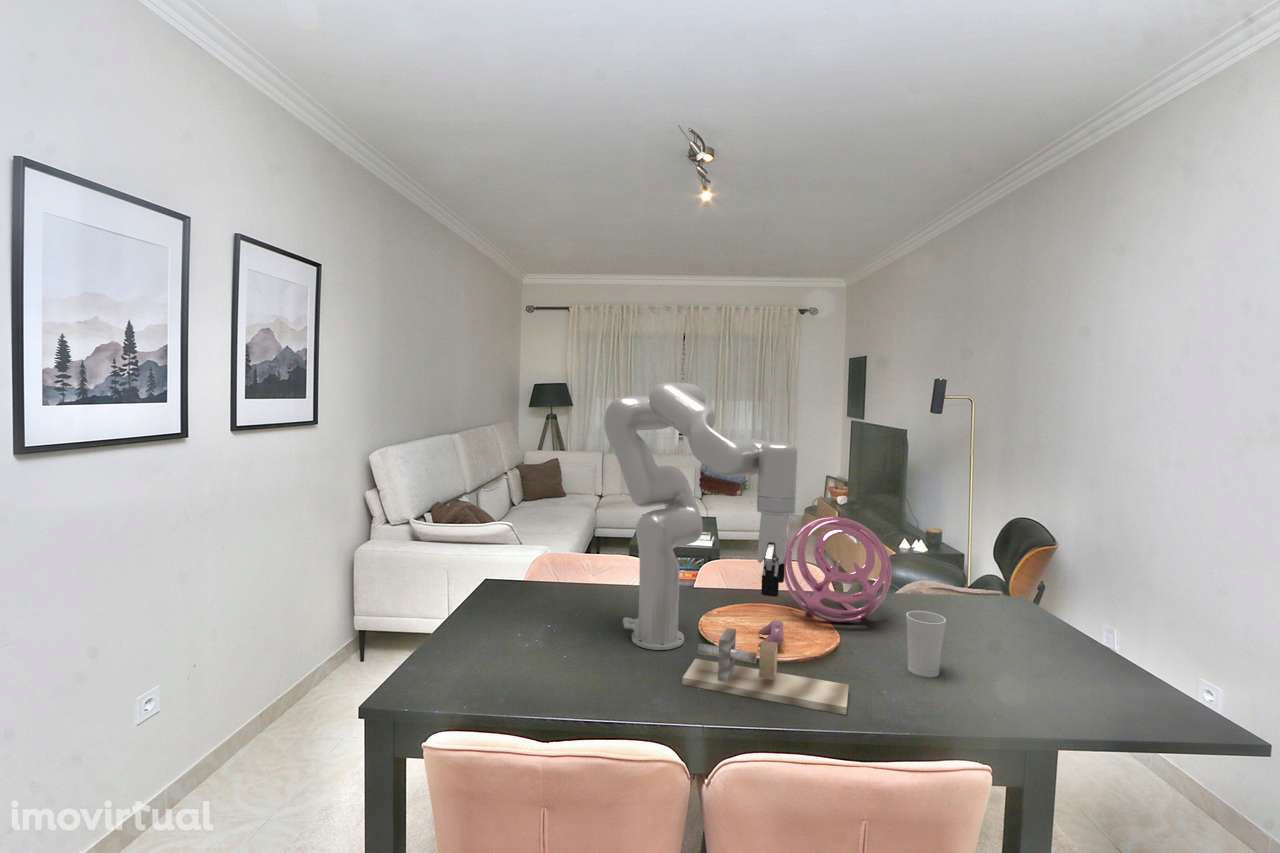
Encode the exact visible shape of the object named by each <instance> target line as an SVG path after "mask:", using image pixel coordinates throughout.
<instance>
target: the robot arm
mask: <svg viewBox="0 0 1280 853" xmlns="http://www.w3.org/2000/svg"><path fill="white" fill-rule="evenodd" d="M706 400H707V399H706V396H705V393H704V392H703V390H702V389H701V388H700V387H699V386H698V385H696V384H694V383H690V382H673V381H672V382H663V383H659V384H657V385H656V386H654V387H653V388H652V389H651V391H650V392H649V395H627V396H621V397H617V398H616V399H613V400H612V401H611V402H610V403H609V405H608V406H607V407H606V410H605V415H604V419H603V420H604V421H603V422H604V423H603V425H604V431H605V436H606V438H607V440H608V441H607V442H608V443H609V445H610V447H611V448H612V450H613V452H614V455H615V456H616V459H617V462H618V465H619V468H620V471H621V475H622V477H623V479H624V483H625V485H626V486H625V487H626V488H627V491H628V494H629V497H630V499H631V501H632V502H633V504H634V505H636V506H638V507H640V508H646V507H656V506H662V505H663V506H664V508H659V509H654V510H653V509H652V510H650V511H647V512H646V513H644V514H643V515H642V516H640V518H639V519H638V521H637V523H636V528H635V532H636V533H635V534H636V540H637V547H638V554H639V555H638V556H639V574H638V576H639V585H638V586H639V588H638V592H639V593H638V617H636V618H632V617H626V616H625V617H623V619H622V625H623V628H624V629H627V630H632V632H631V641H632V643H633V644H635V645H636V646H638V647H641V648H643V649H647V650H654V651H665V650H666V651H667V650H668V651H669V650H673V649H677V648H678V647H680V646H682V645H683V644H684V643H685V635H684V634H683V632H681V631H680V630H679V600H680V566H679V560H678V559H677V556H676V555H675V553H674V548H677V547H683V546H687V545H690V544H693V543H696V542H697V541H698V540H699V539H700V538H701V537H702V534H703V529H704V524H703V519H702V518H703V517H702V514H701V512H700V509H699V505H698V504H697V502H696V498H695V496H694V493H693V491H692V487H691V485H690V483H689V481H688V478H687V477H686V475H685V474H684V472H683V471H682V470H680V469H679V468H677V467H676V466H672V465H661V466H659V465H657V463H656V461H655V459H654V456H653V454H652V451H651V448H650V447H649V445H648V444H647V442H646V441H645V440H644V439H643V438H642V437H641V436H640V435H639V434H638V433H637V431H656V430H662V429H663V430H665V429H668V428H670V427H672V428H673V429H675V430H676V431H677V432H679V433H680V434H681V435H683V436H684V437H686V439H687V441H688V442H687V444H688V446H689V448H690V451H691V453H692V454H693V455H694V457H695V458H696V459H697V460H698V461H699V462H700V463H702V464H703V465H704V466H705V467H707V468H708V469H709V470H711V471H712V472H714V473H716V474H717V475H719V476H722V477H724V478H734V477H735V478H738V477H742V476H755V475H757V494H756V495H757V496H756V497H757V498H756V511H757V512H758V513H760V519H759V520H760V521H759V530H758V544H757V546H758V547H757V559H756V560H757V562H758V563H761V562H763V566H762V574H761V590H760V591H761V592H760V593H761V595H762V596H765V597H766V596H767V597H774V598H777V597H778V596H779V589H780V588H779V586H780V585H779V583H780V584H781V583H784V582H785V579H784V565H785V563H784V558H785V556H786V552H787V546H788V544H789V543H788V542H789V524H790V522H789V521H790V520H789V519H790V516H791V515H795V513H796V495H797V494H796V493H797V491H796V490H797V468H798V466H797V464H798V449H797V447H796V446H795V445H794V444H791V443H786V442H770V441H767V440H763V439H757V438H747V439H746V438H744V439H743V438H741V439H727V438H725V437H723V435H721V434H720V433H718V432H717V431H715V430H714V429H713V428H714V427H715V424H716V420H717V419H716V413H715V411H714V410H713V408H711V407H710V406H709V405H707V403H706V402H707V401H706Z"/></svg>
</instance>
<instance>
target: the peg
mask: <svg viewBox="0 0 1280 853" xmlns="http://www.w3.org/2000/svg"><path fill="white" fill-rule="evenodd" d="M762 641H763V640H762ZM778 646H779V645H778V643H775V642H769V641H763V642H762V644H761V646H760V651H759V659H758V654H757V652H754V651H748V650H742V649H736V648H735V649H730V659H735V661H742V662H748V663H755V664H756V663H757V659H758V660H759V662H758V663H759V664H758V669H759V677H761V678H767V679H773V680H774V678H775V675H776V672H777V670H778V651H779V650H778V648H779V647H778ZM697 653H698V654H701V655H706V656H712V657H718V656H719V645H711V644H705V643H698V646H697ZM777 673H778V672H777Z"/></svg>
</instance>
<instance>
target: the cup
mask: <svg viewBox="0 0 1280 853" xmlns="http://www.w3.org/2000/svg"><path fill="white" fill-rule="evenodd" d="M905 618H906V619H905V621H906V641H907V644H906V645H907V670H908V671H909V672H910V673H912V674H913V675H917V676H919V677H923V678H924V677H925V678H935V677H938V676H940V665H941V664H940V663H941V656H942V649H943V641H944V636H945V632H946V625H947V619H946V618H945V617H944V616H942V615H941V614H937V613H935V612H931V611H927V610H924V611H923V610H912V611H908V612H906V613H905Z"/></svg>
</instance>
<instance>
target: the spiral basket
mask: <svg viewBox="0 0 1280 853" xmlns="http://www.w3.org/2000/svg"><path fill="white" fill-rule="evenodd" d="M827 527H828V529H826V530H825V531H823V532H822V533H821V534H820V535H819V536H818V537H817V539H816V541H815V545H814V549H813V555H814V560H815V563H816V565H817V567H818V568H819V569H820V571H821V572H822V573H823V575H824V578H823V580H822V581H818V580H817V579H816V578H815V577H814V576H813V575H812V573H811V571H810V570H809V566H808V565H807V562H806V555H805V554H806V546H807V544H808V543H807V542H808V541H809V539H810V537H811V535H813V533H814V532H815V531H816V530H818V529H819V528H827ZM840 534H842V535H843V534H845V535H849V536H852V537H854V538H856V539H857V540H858V541H859V542H860V543H861V544H862V545H863V547H864V550H865V554H866V559H865V562H864V564H863V566H862V567H860V566H859V565H858V564H857V563H856V561H854V560H852V564H853V567H854V570H855V571H854V572H848V573H847V572H843V571H842V572H841V571H839V567H840V564H841V560H838V561H837V562H836V563H835V564H834V565H833V566H831V564H830V563H829V562H828V560H827V559H826V557H825V546H826V544H827V542H828V541H829V539H830V538H832V537H833V536H836V535H840ZM799 538H800V539H799ZM798 539H799V542H798V545H797V548H796V550H797V551H796V559H797V560H796V561H797V566H798V569H799V571H800V573H801V576H802V578H803V580H805V581H804V582H806V583H807V585H808V586H809V587H810V588H811V590H812V591H813V594H812V595H809V594H808V593H807V592H806V591H805V589H803V587H802V585H800V583H799V581H798V580H797V577H796V576H795V573H794V569H793V564H792V563H793V562H792V556H793V549H794V546H795V543H796V542H797V540H798ZM875 553H876V555H877V557H878V559H879V561H880V564H881V565H880V570H879V574H878V577H877V578H876V580H875V581H874V583H873V584H870V582H869V580H868V578H869V575H870V574H871V573H872V571H873V570H874V567H875V562H876V555H875ZM784 563H785V565H784V582H785V584H786V587H787V590H788V591H789V593H790V595H791V597H792V598H793V599H794V601H795V602H796V603H797V604H798V605H799V606H800V607H801V608H802V609H803V610H804V611H805V612H806V613H807V614H808V615H811V616H814V617H816V618H818V619H820V618H821V620H823V621H826V622H829V623H830V622H831V623H837V624H838V623H839V624H843V623H845V624H847V623H852V622H857V621H860V620H863V619H864V618H867V617H869V616H870V615H871V614H873V613H874V612H875V611H876V610H877V609H879V607H880V606H881V604H882V603H883V601H884V600H885V597H886V596H887V593H888V591H889V588H890V587H891V582H892V577H893V576H892V571H893V570H892V562H891V559H890V556H889V553H888V551H887V549H886V547H885V545H884V544H883V542H882V540H880V538H879V537H878V536H877V535H876V534H875V533H874V532H873V531H872V530H871V529H870V528H867V527H866V526H865V525H863V524H862V523H859V522H858V521H855V520H853V519H850V518H845V517H842V516H827V517H820V518H817V519H813V520H811V521H809V522H808V523H806V524H805V525H803V526H802V527H801V528H799V529H798V530H797V532H796V533H795V534H794V536H792V538H791V540H790V541H789V543H787V552H786V556H785V558H784ZM833 581H834V582H837V583H840V584H848V585H849V584H856V583H861V585H862V590H861V591H859V592H856V593H855V592H854V593H841V592H837V591H834V590H831V589H830V584H831V583H832V582H833ZM882 586H883V587H882ZM881 587H882V588H883V589H882V591H881V593H880V594H879V596H877V597H876V593H877V592H879V590H880V588H881ZM793 588H794V589H793ZM794 590H795V591H796V592H797V594H798V595H799V596H800V597H801V598H802V599H803V601H804V602H805V603H804V602H803V601H802V600H801V599H800V598H799V597H798V595H797V594H796V592H795V591H794ZM875 597H876V598H875ZM823 599H827V600H829V601H833V602H837V603H840V604H841V605H842V606H843V607H844V608H845V609H837V608H833V607H829V606H828V605H827V606H826V605H824V604H823V603H822V602H821V601H822V600H823ZM862 601H865V602H866V604H865V605H864V606H863V607H859V608H856V607H855V606H852V605H851V603H853V604H854V603H858V602H862ZM817 611H818V612H821V613H824V614H827V615H823V614H821V613H818V612H817ZM828 615H831V616H835V617H842V618H835V617H831V616H828ZM843 617H845V618H843ZM846 617H847V618H846Z"/></svg>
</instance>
